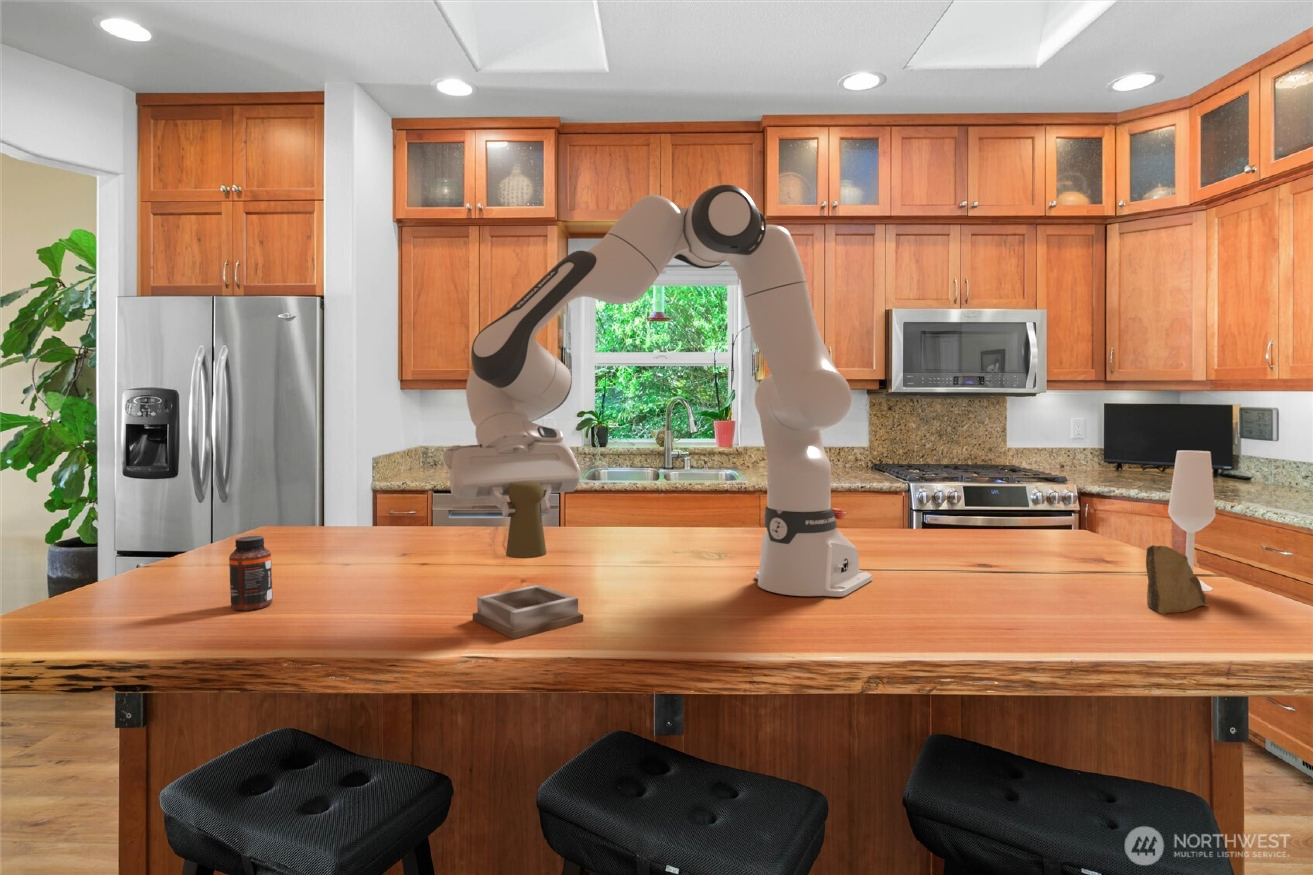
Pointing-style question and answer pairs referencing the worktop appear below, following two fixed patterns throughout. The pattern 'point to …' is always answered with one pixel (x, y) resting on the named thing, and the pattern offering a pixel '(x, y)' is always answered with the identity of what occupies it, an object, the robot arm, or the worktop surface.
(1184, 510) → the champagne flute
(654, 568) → the worktop surface
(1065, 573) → the worktop surface
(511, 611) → the socket mount
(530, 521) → the cork
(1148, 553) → the rock
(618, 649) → the worktop surface
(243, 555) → the supplement bottle
